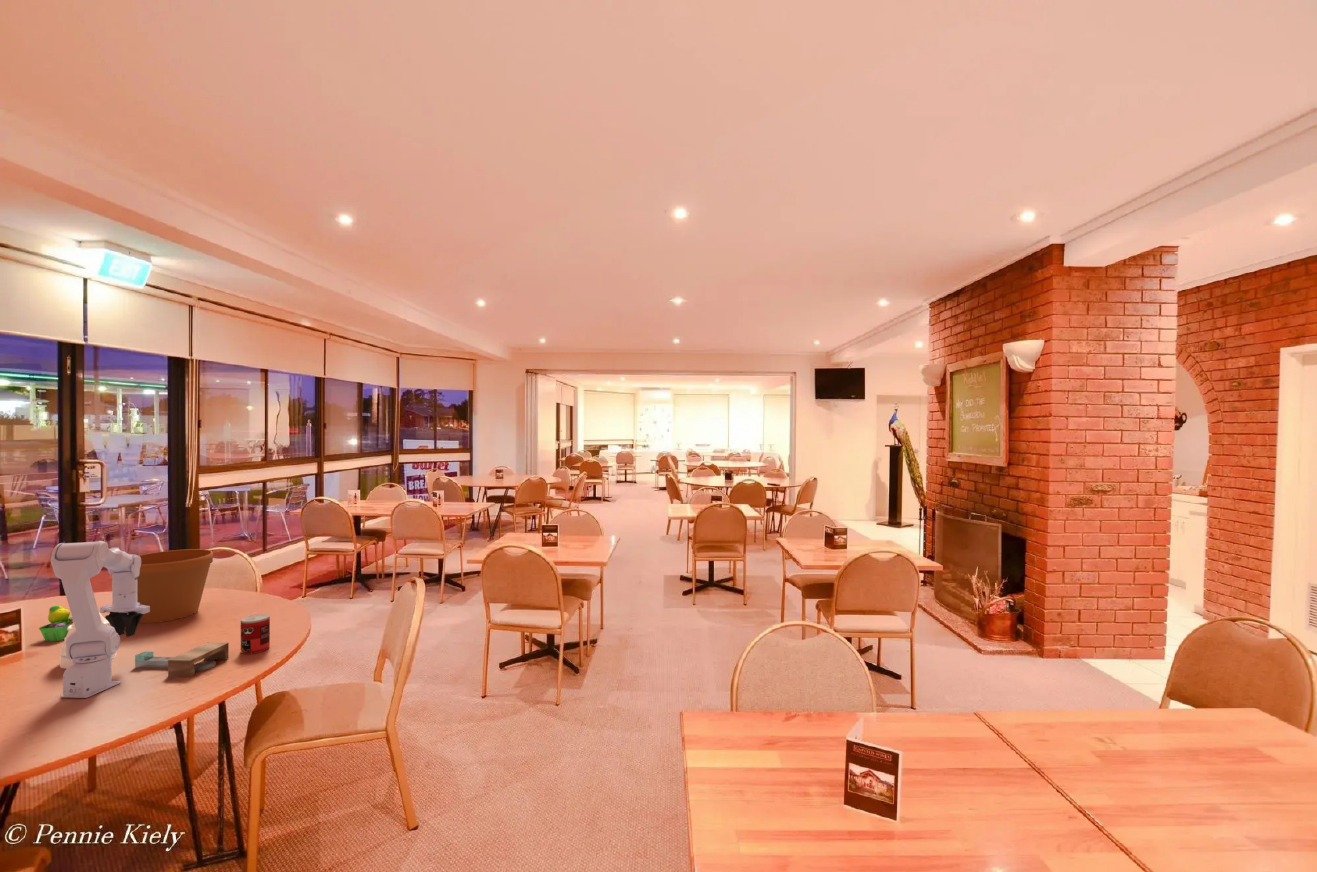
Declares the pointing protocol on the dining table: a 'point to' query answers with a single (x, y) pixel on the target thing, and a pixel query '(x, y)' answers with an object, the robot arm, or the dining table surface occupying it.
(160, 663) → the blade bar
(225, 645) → the wooden bridge block
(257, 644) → the canned food
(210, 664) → the slate coaster
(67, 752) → the dining table surface
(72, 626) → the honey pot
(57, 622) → the fruit basket
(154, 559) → the flowerpot
